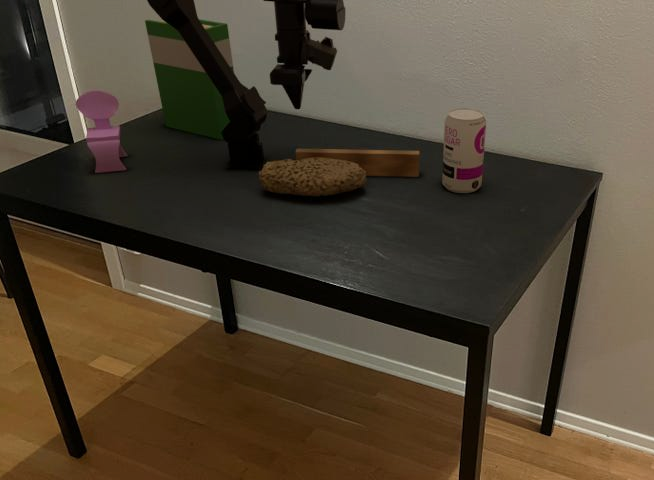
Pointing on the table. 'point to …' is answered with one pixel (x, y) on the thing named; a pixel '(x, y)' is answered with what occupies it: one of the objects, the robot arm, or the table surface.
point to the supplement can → (463, 150)
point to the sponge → (312, 176)
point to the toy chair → (102, 130)
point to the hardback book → (188, 79)
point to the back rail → (371, 160)
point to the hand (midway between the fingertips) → (297, 108)
